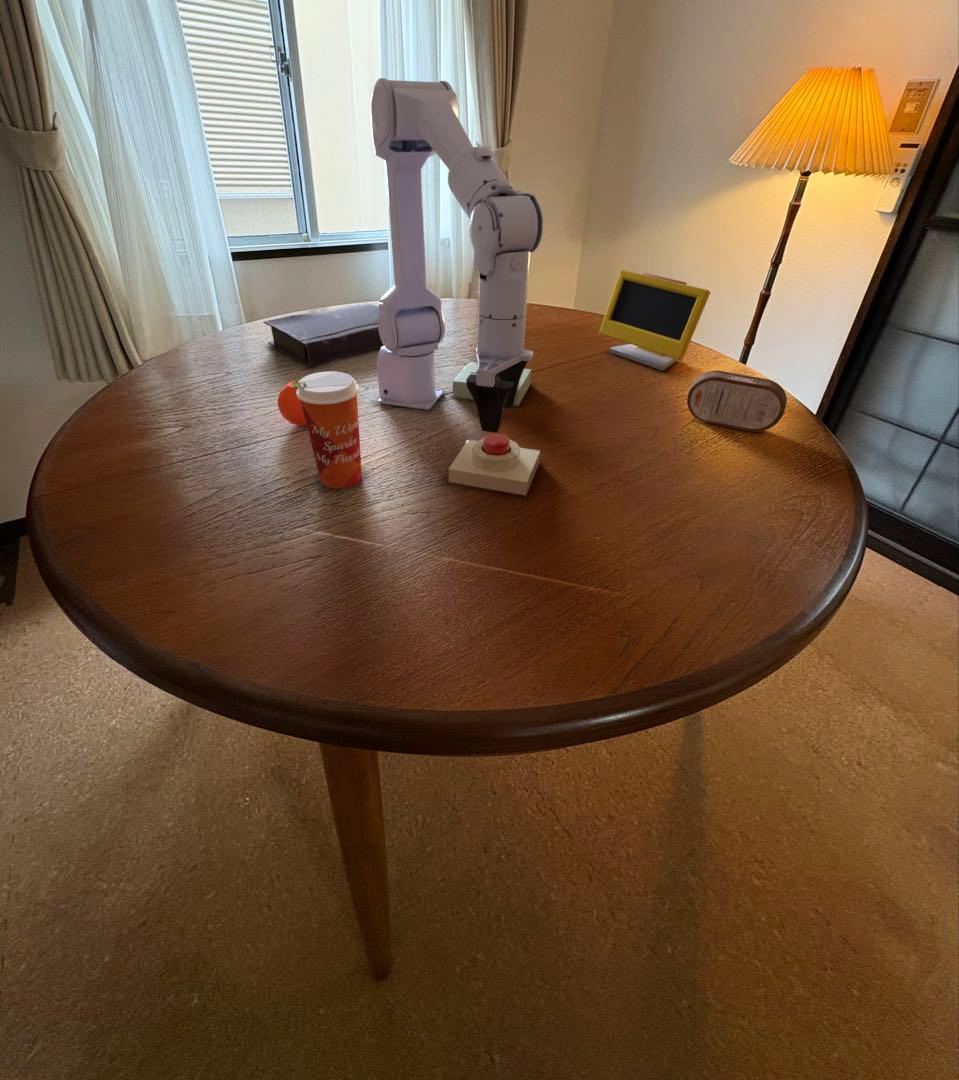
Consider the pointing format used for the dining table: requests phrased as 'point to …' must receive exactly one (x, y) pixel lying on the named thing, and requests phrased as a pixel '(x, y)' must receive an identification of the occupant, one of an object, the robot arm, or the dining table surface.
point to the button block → (495, 468)
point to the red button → (496, 444)
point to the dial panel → (471, 368)
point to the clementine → (291, 404)
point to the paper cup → (332, 426)
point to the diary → (327, 333)
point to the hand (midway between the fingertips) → (497, 418)
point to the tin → (736, 400)
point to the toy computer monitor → (653, 318)
